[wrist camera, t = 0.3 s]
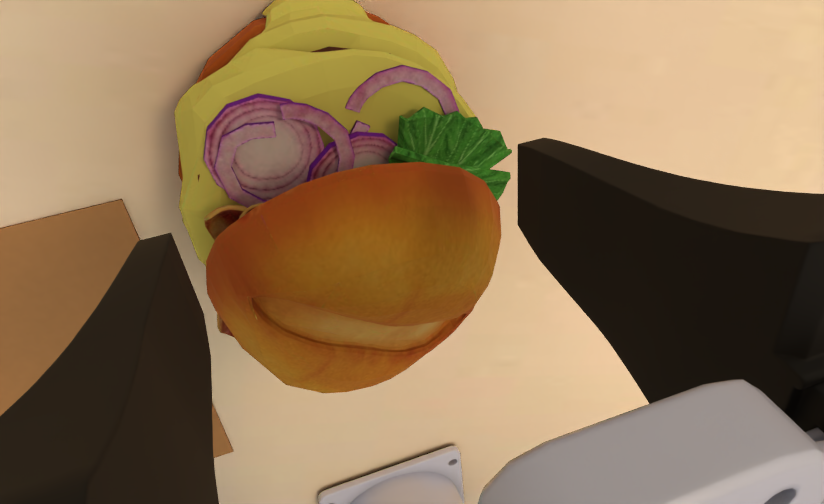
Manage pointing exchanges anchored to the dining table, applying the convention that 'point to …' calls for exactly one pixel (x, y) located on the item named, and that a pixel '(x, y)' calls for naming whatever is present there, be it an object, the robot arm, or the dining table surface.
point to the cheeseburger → (337, 194)
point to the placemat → (59, 291)
